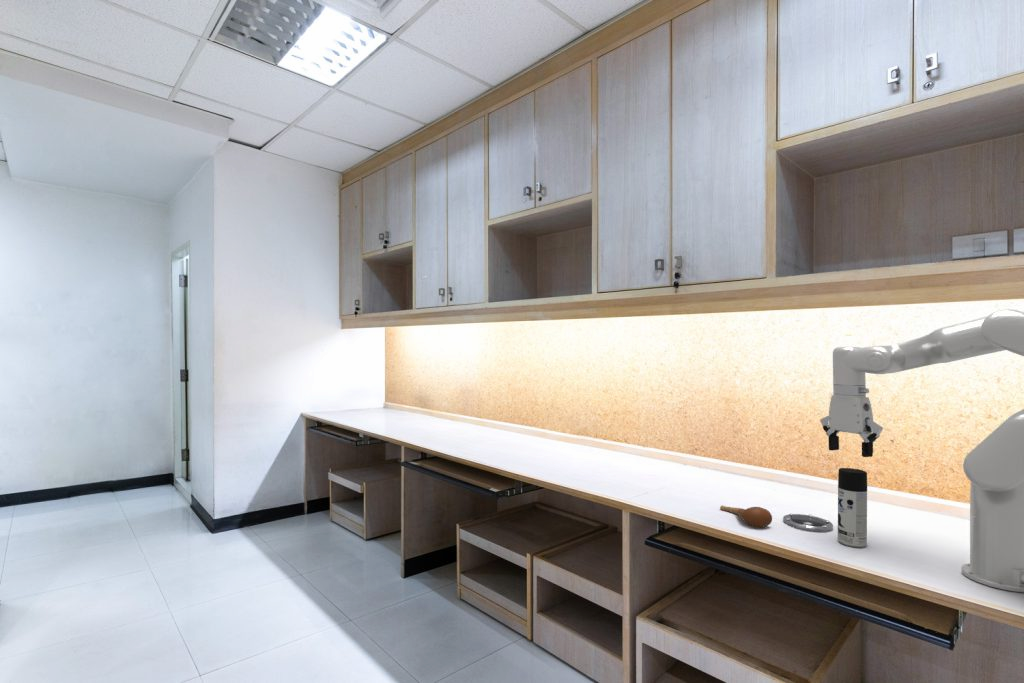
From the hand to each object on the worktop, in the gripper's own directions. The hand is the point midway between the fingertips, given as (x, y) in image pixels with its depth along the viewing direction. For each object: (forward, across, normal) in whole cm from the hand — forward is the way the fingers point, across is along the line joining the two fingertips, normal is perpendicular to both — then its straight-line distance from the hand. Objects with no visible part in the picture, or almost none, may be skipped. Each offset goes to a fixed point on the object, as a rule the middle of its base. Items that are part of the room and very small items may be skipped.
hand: (850, 453), depth 140 cm
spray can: (+25, -1, +1) cm, 25 cm away
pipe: (+24, +24, +16) cm, 38 cm away
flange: (+24, +14, 0) cm, 28 cm away
